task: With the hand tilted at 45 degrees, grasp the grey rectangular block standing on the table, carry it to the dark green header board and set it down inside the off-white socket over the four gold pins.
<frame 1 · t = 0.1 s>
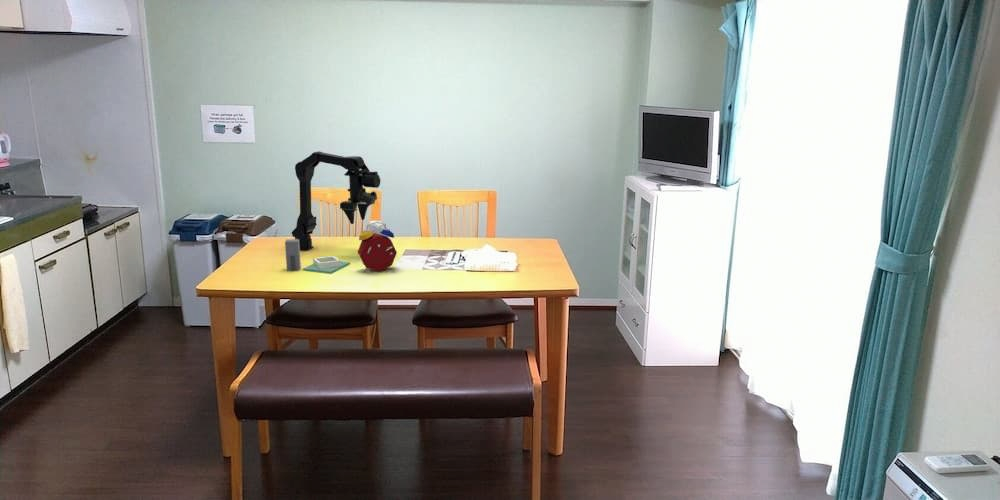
hand: (357, 221, 314), 15 cm above the table, tool pointing down, fingers open, 9 cm apart
alarm clock: (378, 271, 293), on the table
header board: (326, 267, 297), on the table
photo printer: (377, 247, 330), on the table
grey rectangular block: (293, 269, 294), on the table
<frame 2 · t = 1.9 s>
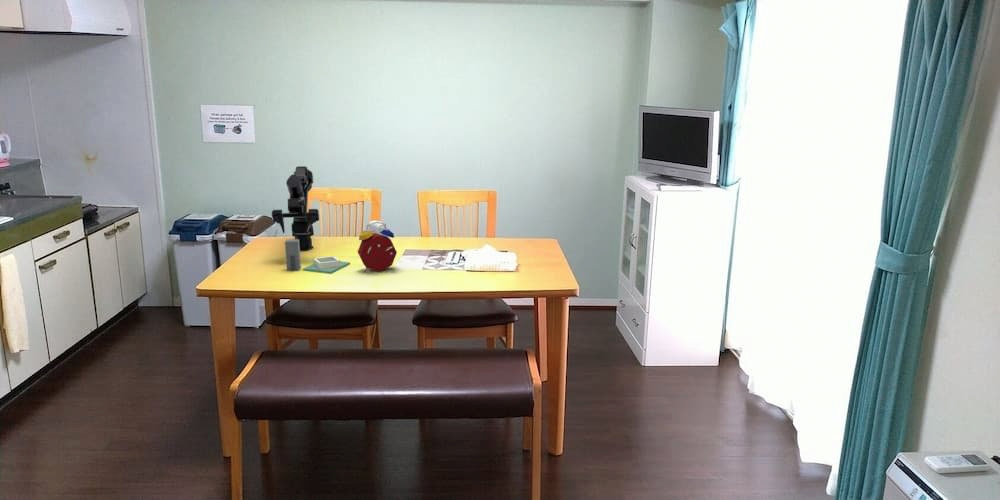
hand: (295, 232, 298), 13 cm above the table, tool tilted 45°, fingers open, 9 cm apart
nothing on the table moved.
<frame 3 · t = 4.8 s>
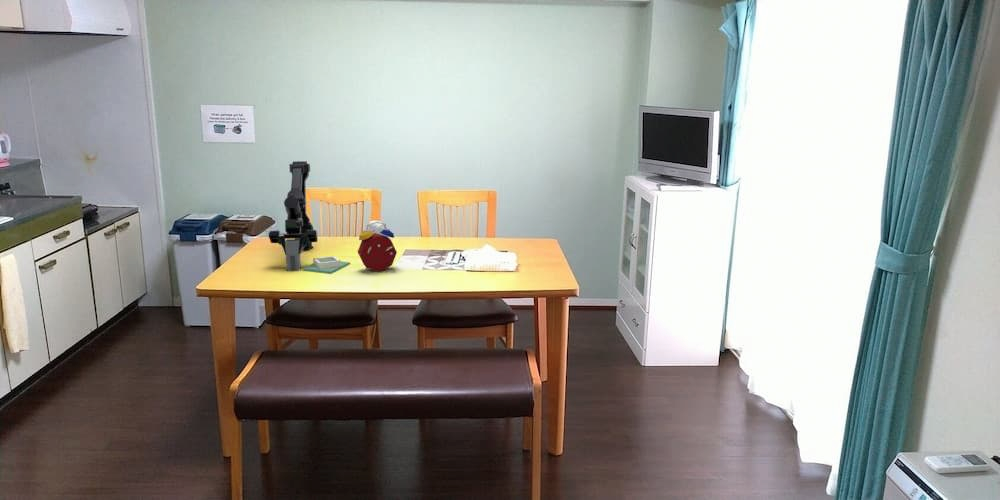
hand: (292, 254, 291), 7 cm above the table, tool tilted 45°, fingers closed on grey rectangular block, 5 cm apart
grey rectangular block: (293, 269, 294), on the table, touching gripper
everything else where it was.
when the fingers open (8 cm above the table, at t = 8.5 s): grey rectangular block stays where it is, resting on header board.
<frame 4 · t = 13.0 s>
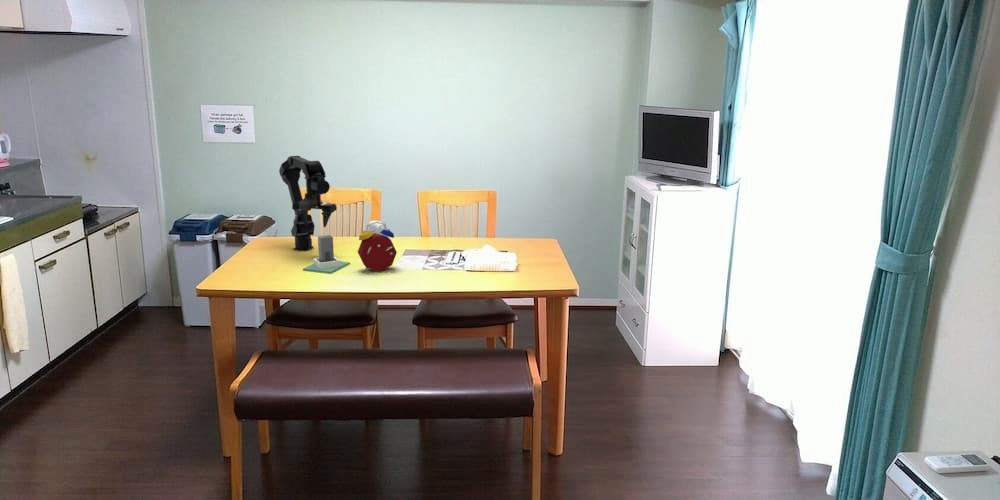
hand: (315, 226, 312), 13 cm above the table, tool pointing down, fingers open, 9 cm apart
grey rectangular block: (326, 265, 297), point 1 cm above the table, touching header board
everything else where it was.
at the end: grey rectangular block 0.0 cm off-centre on the header board, point 0.9 cm above the header board's base; grey rectangular block tilted 0°; the gripper is holding nothing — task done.
